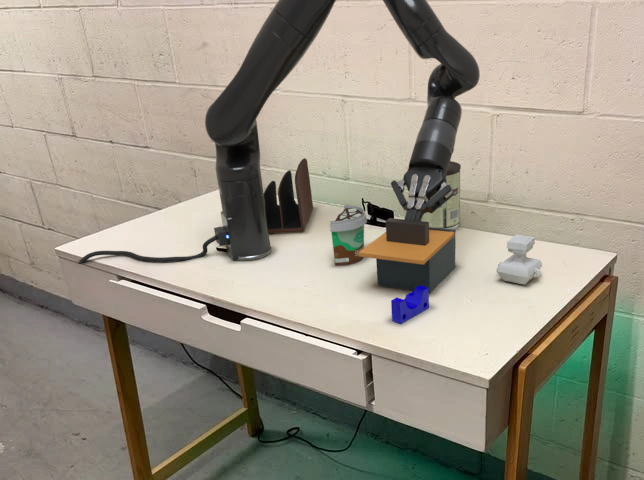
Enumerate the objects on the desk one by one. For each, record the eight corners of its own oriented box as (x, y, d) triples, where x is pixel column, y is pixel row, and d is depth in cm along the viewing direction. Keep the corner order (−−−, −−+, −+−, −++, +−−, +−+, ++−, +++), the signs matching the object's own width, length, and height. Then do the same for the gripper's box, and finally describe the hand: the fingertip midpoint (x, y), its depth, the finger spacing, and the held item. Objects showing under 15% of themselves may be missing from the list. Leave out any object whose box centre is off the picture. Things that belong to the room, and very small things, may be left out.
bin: (429, 293, 132) (429, 253, 128) (377, 285, 136) (375, 246, 132) (455, 267, 143) (455, 229, 139) (406, 261, 147) (405, 224, 143)
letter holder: (313, 208, 183) (308, 153, 177) (304, 232, 166) (298, 173, 159) (275, 209, 184) (269, 155, 177) (262, 234, 166) (255, 175, 160)
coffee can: (423, 217, 173) (423, 159, 166) (464, 219, 169) (465, 161, 163) (411, 230, 164) (410, 170, 157) (454, 233, 161) (454, 172, 154)
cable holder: (413, 303, 128) (413, 283, 126) (428, 308, 126) (428, 287, 124) (385, 318, 123) (384, 298, 121) (400, 324, 121) (400, 303, 119)
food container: (362, 269, 144) (359, 222, 139) (333, 268, 145) (329, 222, 140) (374, 248, 154) (372, 204, 150) (347, 247, 156) (344, 203, 151)
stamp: (490, 282, 135) (491, 240, 131) (504, 270, 140) (506, 230, 136) (533, 290, 131) (536, 248, 127) (547, 278, 135) (550, 237, 131)
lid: (423, 264, 123) (423, 238, 121) (358, 256, 128) (356, 231, 126) (454, 235, 136) (454, 211, 133) (394, 229, 141) (393, 206, 138)
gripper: (396, 136, 135) (371, 217, 131) (460, 140, 130) (437, 223, 126) (407, 158, 141) (385, 235, 138) (469, 162, 136) (447, 242, 133)
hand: (410, 229), depth 132 cm, fingers closed
